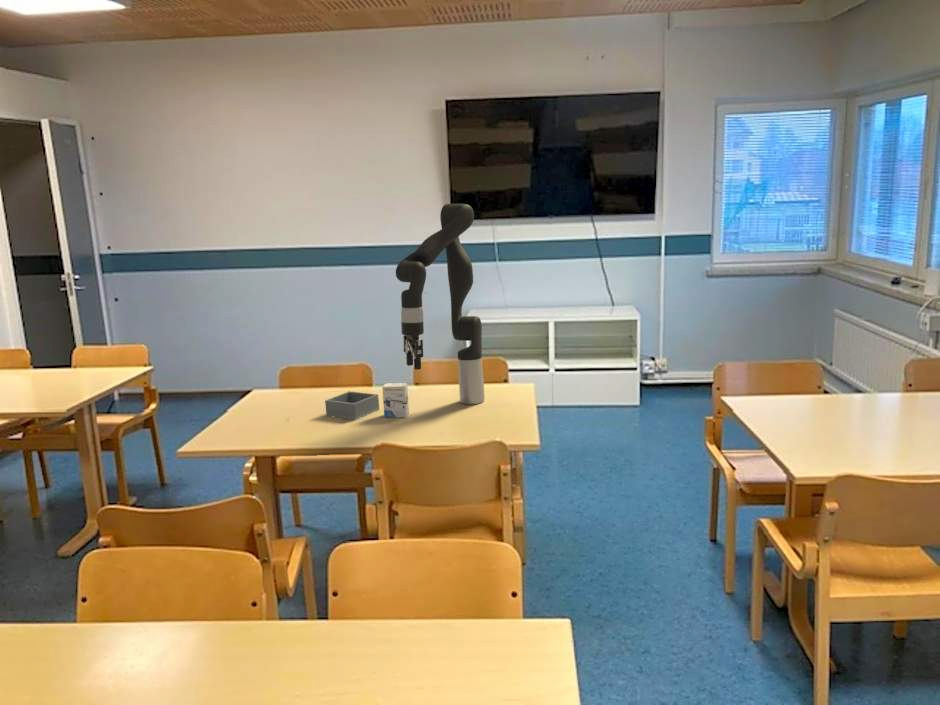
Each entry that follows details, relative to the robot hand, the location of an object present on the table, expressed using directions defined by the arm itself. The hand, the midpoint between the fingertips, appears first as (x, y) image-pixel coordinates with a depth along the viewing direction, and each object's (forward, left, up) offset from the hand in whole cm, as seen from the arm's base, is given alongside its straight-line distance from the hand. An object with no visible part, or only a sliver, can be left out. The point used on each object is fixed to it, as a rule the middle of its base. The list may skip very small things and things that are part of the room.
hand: (413, 367), depth 252 cm
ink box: (-7, -14, -21) cm, 26 cm away
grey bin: (-4, -32, -21) cm, 38 cm away
